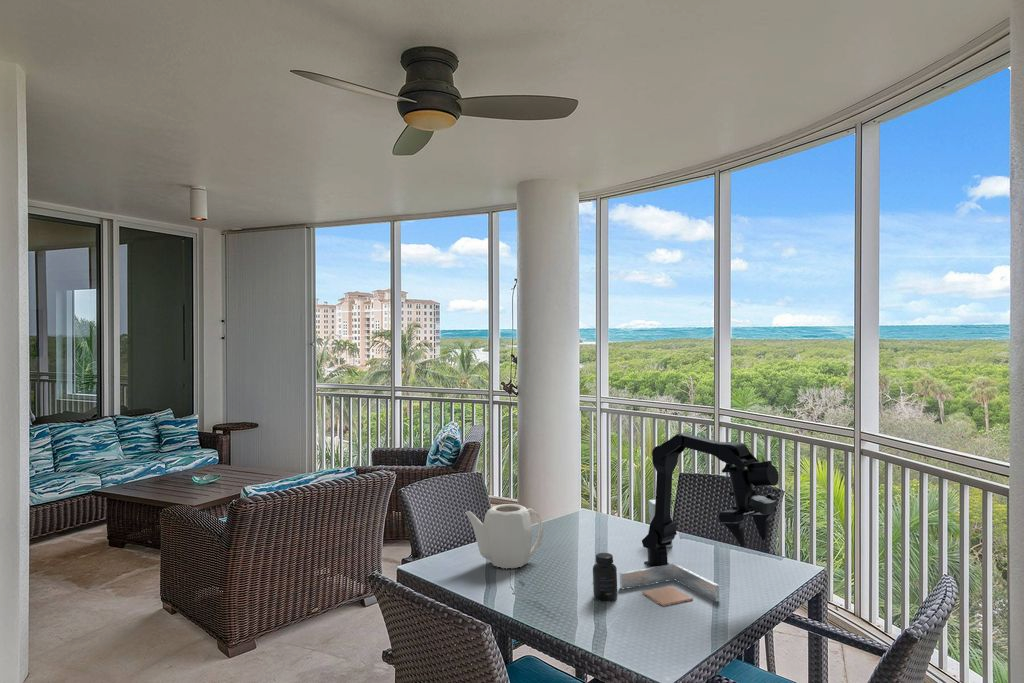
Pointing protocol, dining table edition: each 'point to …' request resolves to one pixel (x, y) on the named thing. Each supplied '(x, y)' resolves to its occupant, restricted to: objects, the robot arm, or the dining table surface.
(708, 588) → the corner walls
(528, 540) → the white teapot
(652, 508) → the skincare box
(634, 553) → the dining table surface
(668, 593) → the terracotta tile
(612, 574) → the supplement bottle
